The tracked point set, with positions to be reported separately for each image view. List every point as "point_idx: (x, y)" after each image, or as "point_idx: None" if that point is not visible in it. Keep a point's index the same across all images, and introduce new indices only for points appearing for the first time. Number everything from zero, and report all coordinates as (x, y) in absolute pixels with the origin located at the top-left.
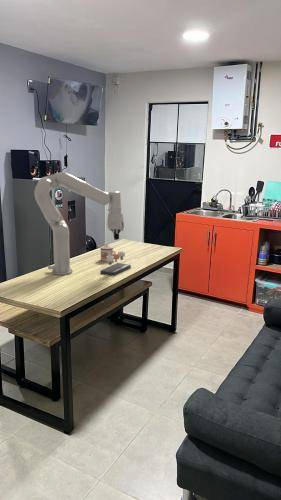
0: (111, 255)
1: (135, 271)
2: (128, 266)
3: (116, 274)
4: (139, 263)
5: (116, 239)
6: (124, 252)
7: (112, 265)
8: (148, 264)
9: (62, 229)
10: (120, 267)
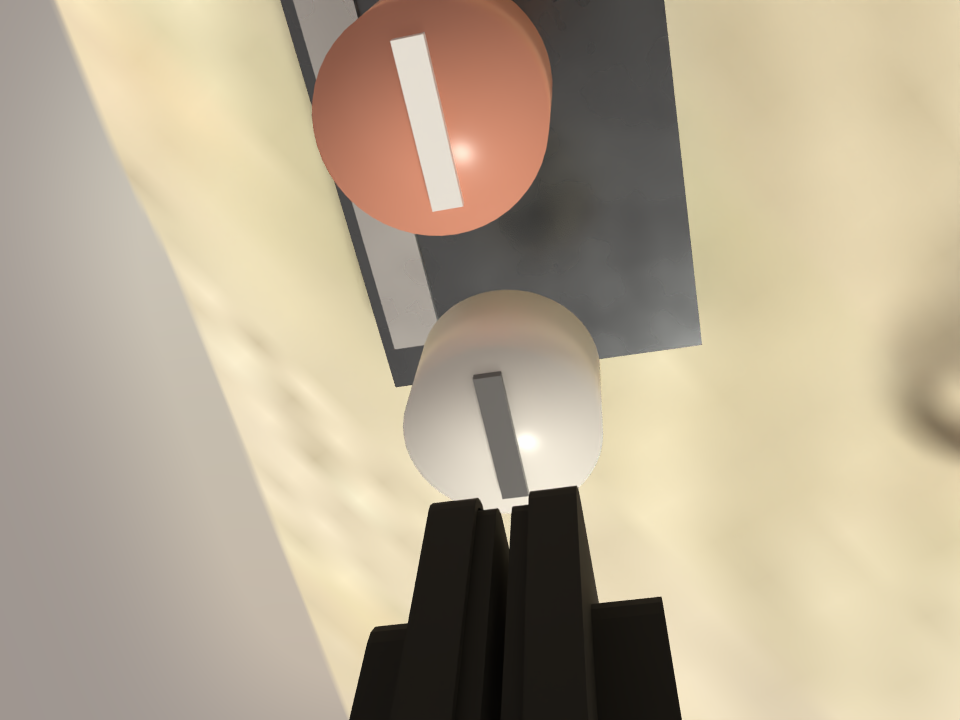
0: None
1: (170, 237)
2: (372, 299)
3: None
4: None
5: (434, 522)
6: (407, 441)
7: (663, 113)
8: (339, 644)
9: None
10: None
